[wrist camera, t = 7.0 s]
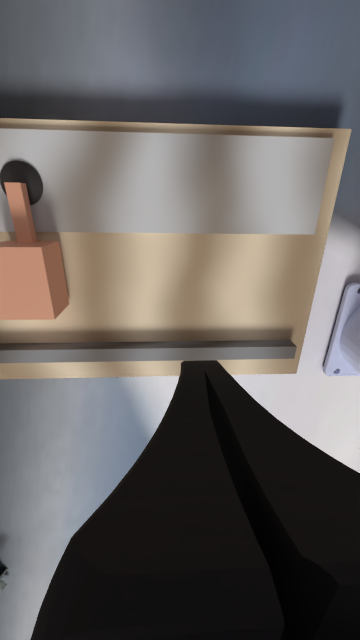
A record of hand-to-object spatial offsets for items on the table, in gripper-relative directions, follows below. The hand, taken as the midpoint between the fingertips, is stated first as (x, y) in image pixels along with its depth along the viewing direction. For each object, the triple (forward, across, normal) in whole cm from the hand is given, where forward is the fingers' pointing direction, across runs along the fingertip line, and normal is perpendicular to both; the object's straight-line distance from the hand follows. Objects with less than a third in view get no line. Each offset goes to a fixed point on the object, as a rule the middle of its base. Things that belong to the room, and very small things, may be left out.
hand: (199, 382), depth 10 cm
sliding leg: (+9, +9, -4) cm, 13 cm away
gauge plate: (+10, +5, -2) cm, 12 cm away
